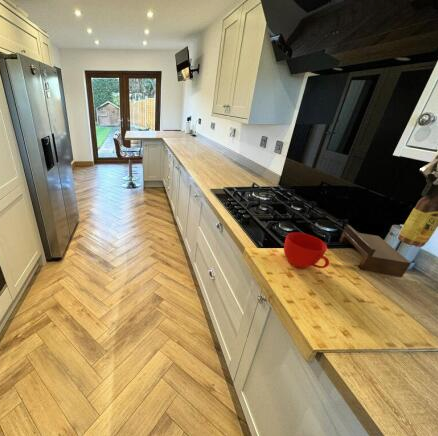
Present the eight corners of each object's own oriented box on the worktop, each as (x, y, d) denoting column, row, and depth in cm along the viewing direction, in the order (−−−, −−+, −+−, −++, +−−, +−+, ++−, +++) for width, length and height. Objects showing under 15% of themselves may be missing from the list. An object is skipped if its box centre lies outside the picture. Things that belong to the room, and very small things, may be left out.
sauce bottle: (416, 249, 69) (457, 184, 60) (391, 238, 74) (425, 177, 65) (430, 246, 71) (472, 182, 62) (404, 235, 76) (439, 176, 67)
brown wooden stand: (371, 248, 103) (382, 229, 99) (401, 277, 86) (416, 256, 82) (337, 243, 106) (346, 224, 102) (360, 270, 89) (372, 249, 85)
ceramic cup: (304, 283, 81) (314, 259, 76) (271, 254, 95) (279, 233, 91) (335, 279, 83) (347, 256, 79) (298, 252, 98) (307, 231, 93)
